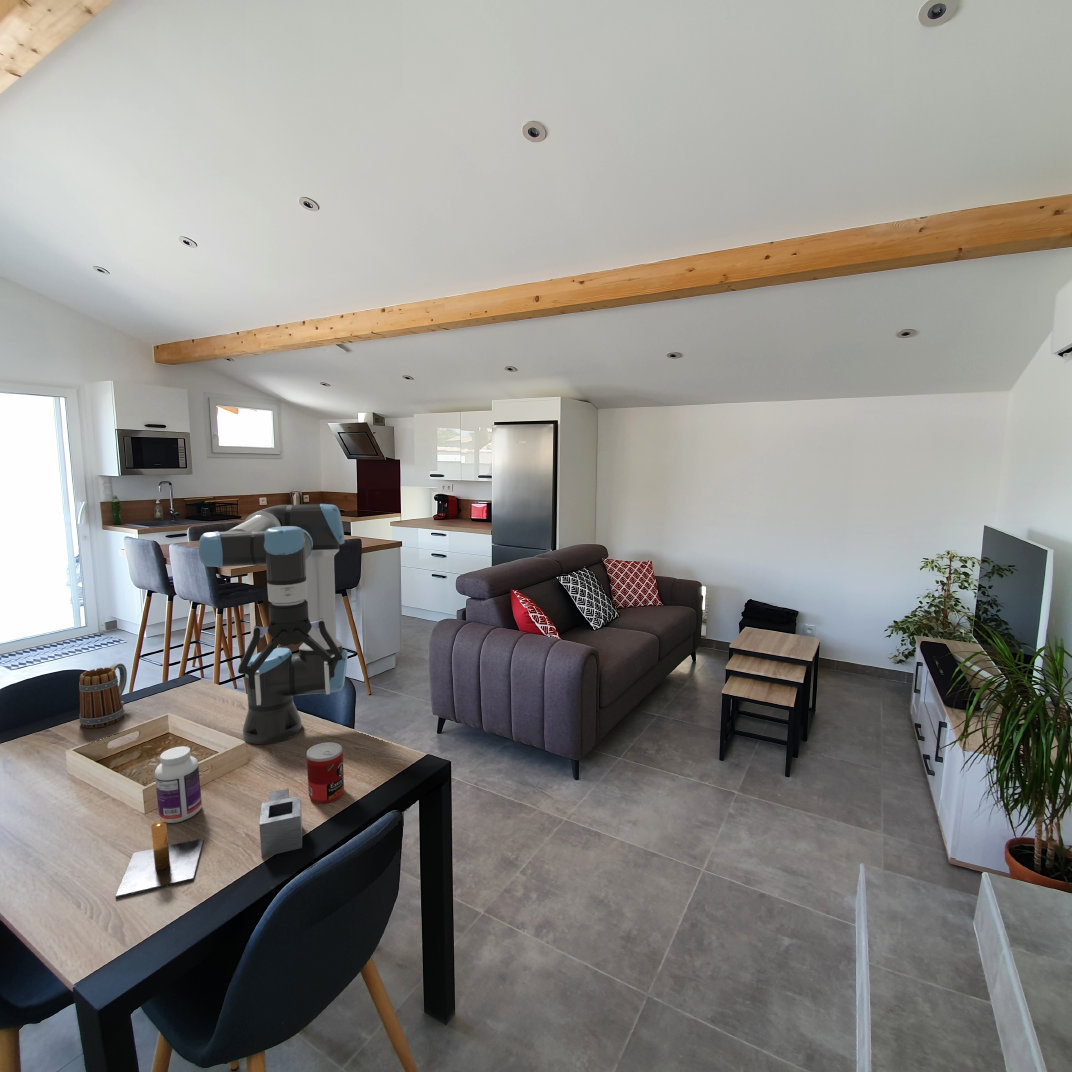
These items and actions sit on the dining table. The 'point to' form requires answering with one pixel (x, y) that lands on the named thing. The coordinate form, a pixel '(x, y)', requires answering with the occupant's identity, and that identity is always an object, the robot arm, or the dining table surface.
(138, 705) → the dining table surface
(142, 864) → the keeper base
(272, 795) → the grey block with tab
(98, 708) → the mug
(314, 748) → the canned food
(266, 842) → the end link
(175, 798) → the pill bottle
